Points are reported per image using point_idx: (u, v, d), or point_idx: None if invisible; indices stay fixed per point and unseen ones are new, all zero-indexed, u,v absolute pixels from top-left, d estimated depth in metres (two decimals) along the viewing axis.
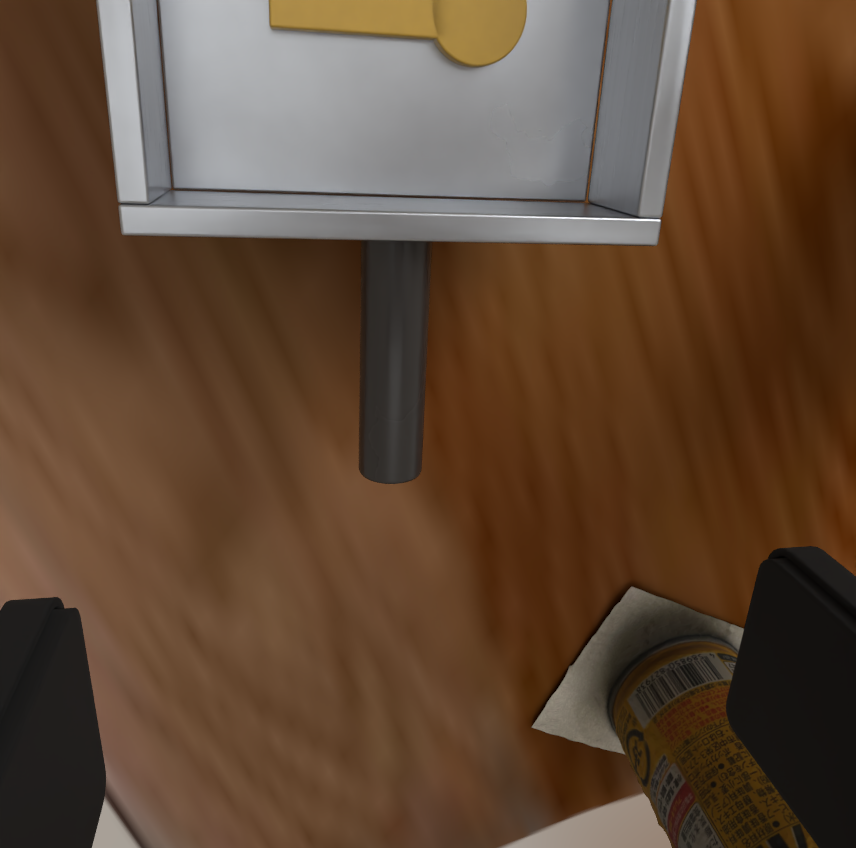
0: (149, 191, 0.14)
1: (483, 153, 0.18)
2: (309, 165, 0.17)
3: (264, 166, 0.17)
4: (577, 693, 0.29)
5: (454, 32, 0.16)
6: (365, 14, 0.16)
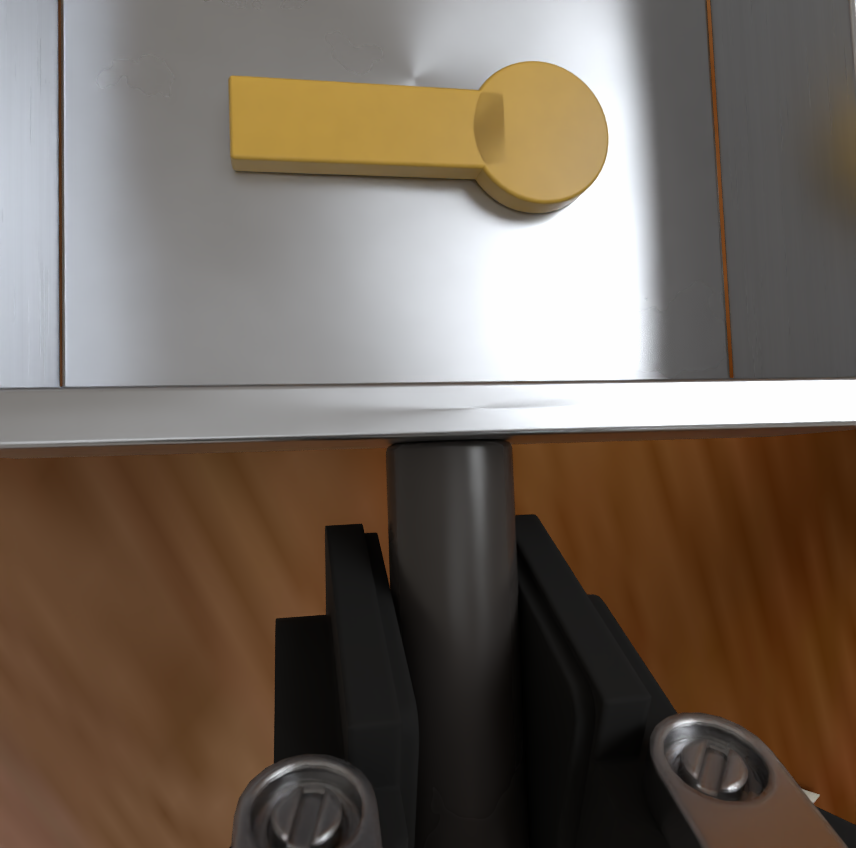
0: None
1: (566, 335, 0.11)
2: (293, 363, 0.11)
3: (220, 368, 0.10)
4: None
5: (508, 159, 0.11)
6: (375, 138, 0.11)
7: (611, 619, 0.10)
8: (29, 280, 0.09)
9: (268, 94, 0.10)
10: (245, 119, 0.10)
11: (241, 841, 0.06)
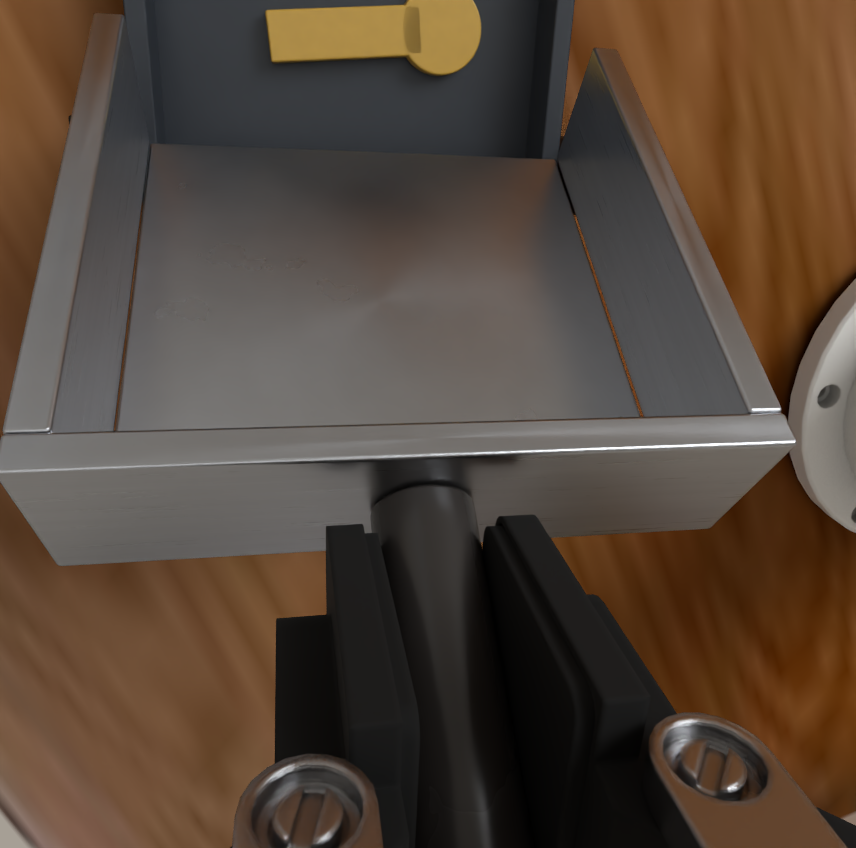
0: (54, 417, 0.10)
1: None
2: None
3: None
4: None
5: None
6: None
7: (611, 620, 0.10)
8: (95, 412, 0.12)
9: None
10: None
11: (242, 841, 0.06)
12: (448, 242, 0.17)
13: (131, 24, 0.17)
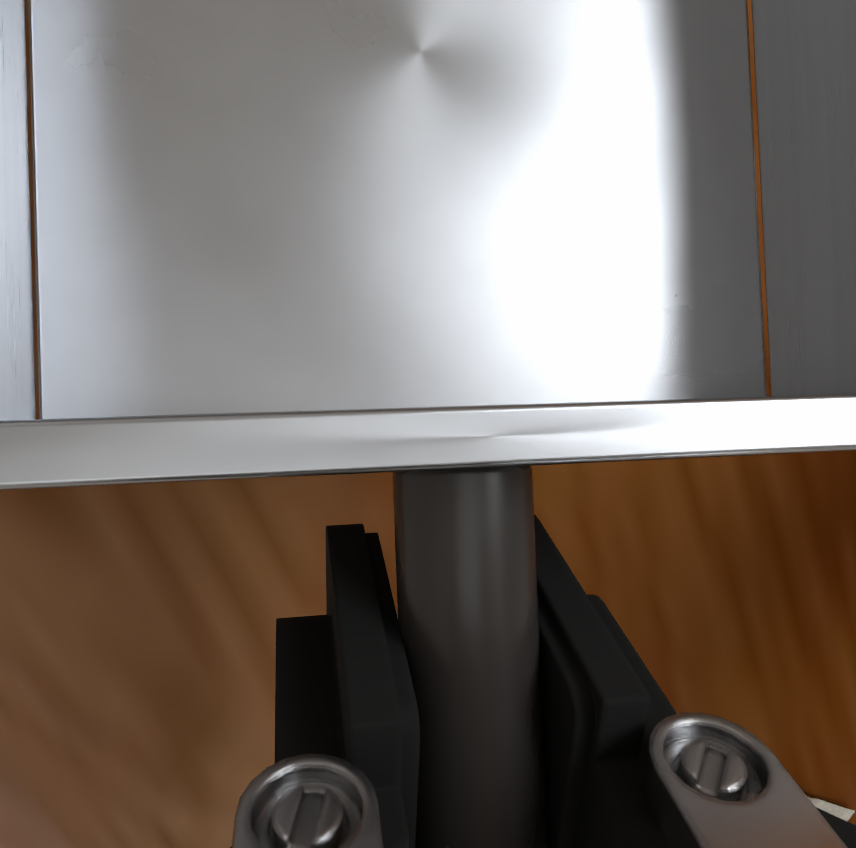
0: None
1: (589, 336, 0.10)
2: (292, 372, 0.10)
3: (210, 378, 0.10)
4: None
5: None
6: None
7: (611, 620, 0.10)
8: None
9: None
10: None
11: (242, 841, 0.06)
12: None
13: None
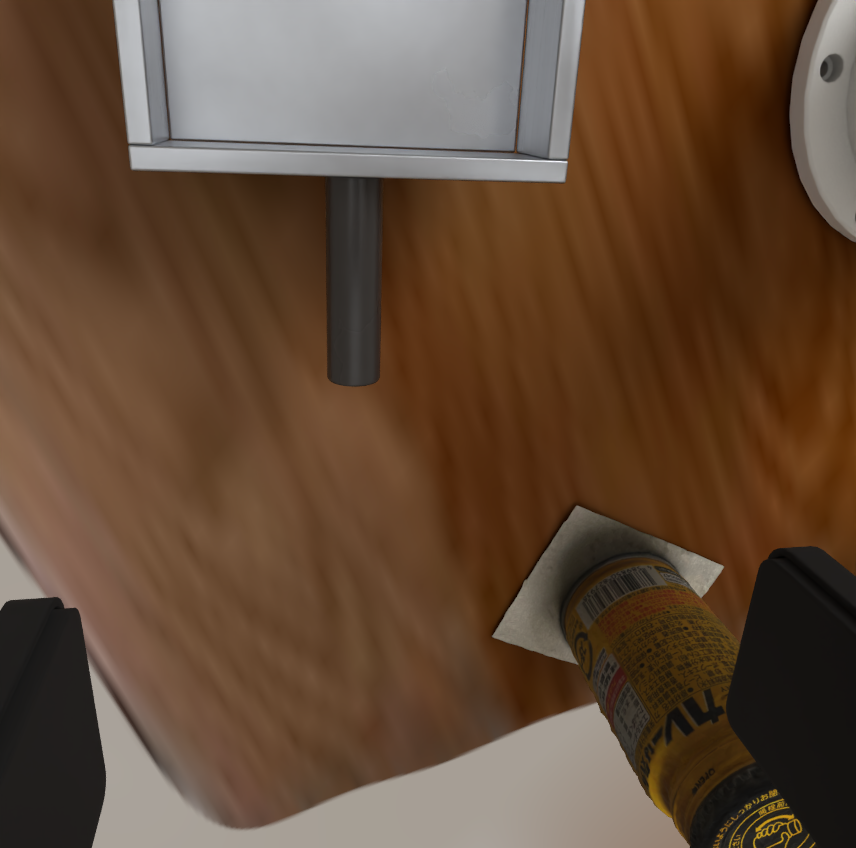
0: (152, 134, 0.18)
1: (427, 110, 0.22)
2: (282, 120, 0.21)
3: (245, 120, 0.21)
4: (531, 605, 0.33)
5: None
6: None
7: None
8: (158, 80, 0.19)
9: None
10: None
11: None
12: None
13: None
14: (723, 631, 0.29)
